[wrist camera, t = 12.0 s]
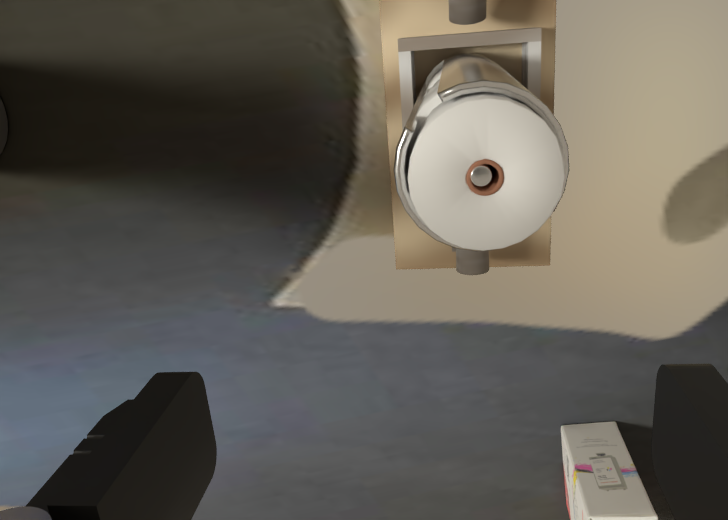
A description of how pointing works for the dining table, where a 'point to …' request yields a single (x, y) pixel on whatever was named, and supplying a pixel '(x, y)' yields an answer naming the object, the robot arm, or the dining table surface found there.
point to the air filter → (479, 157)
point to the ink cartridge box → (601, 475)
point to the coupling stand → (409, 72)
